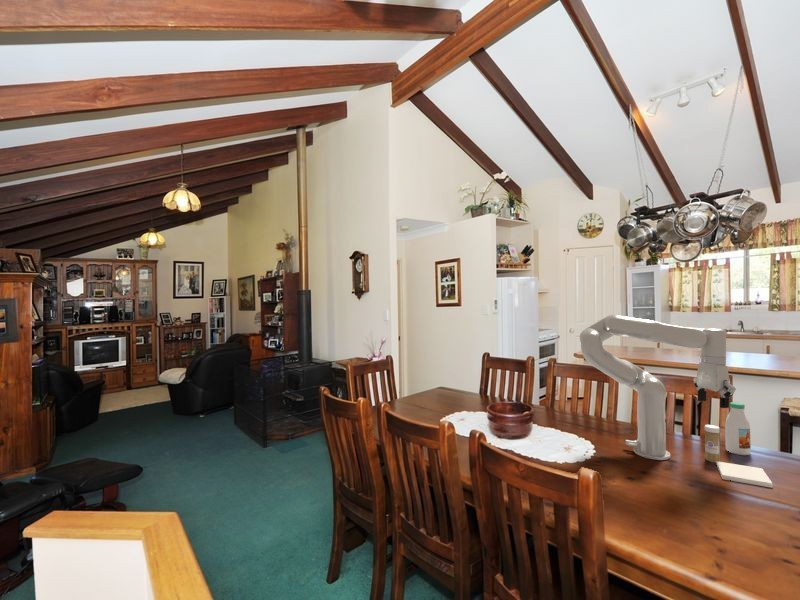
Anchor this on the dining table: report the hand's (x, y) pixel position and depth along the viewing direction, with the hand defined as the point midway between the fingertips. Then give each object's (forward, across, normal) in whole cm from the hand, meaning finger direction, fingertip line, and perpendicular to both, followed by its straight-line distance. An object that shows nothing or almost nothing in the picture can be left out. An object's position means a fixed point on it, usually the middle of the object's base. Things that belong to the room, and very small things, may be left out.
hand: (712, 404), depth 150 cm
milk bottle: (+22, -6, +17) cm, 29 cm away
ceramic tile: (+22, +13, -1) cm, 25 cm away
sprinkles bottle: (+22, 0, 0) cm, 22 cm away
